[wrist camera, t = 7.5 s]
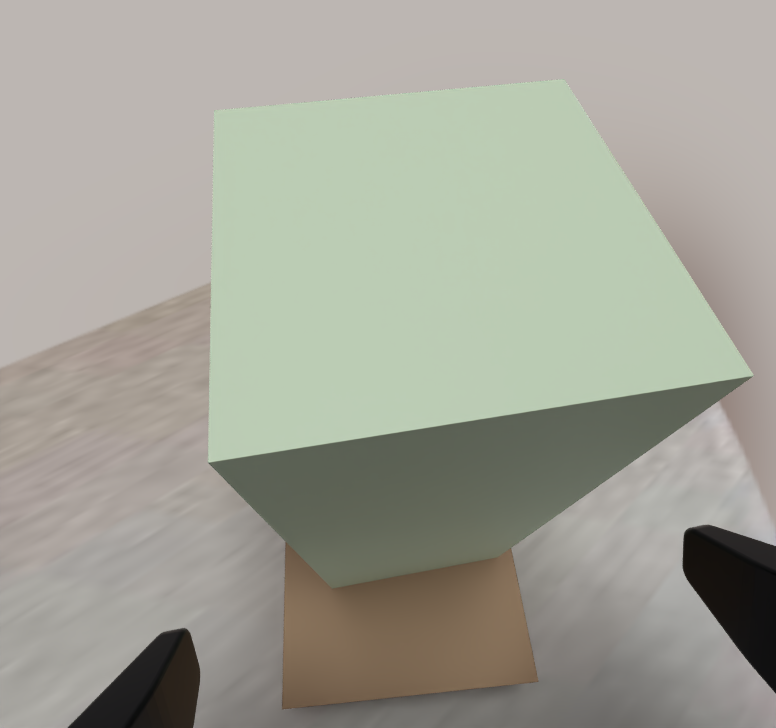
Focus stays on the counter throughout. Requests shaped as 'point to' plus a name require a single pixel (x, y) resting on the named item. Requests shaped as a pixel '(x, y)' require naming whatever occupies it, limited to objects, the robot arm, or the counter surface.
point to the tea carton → (439, 323)
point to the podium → (403, 633)
